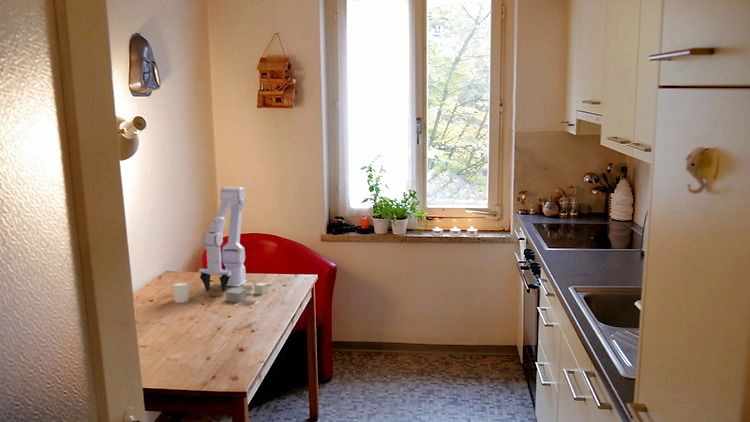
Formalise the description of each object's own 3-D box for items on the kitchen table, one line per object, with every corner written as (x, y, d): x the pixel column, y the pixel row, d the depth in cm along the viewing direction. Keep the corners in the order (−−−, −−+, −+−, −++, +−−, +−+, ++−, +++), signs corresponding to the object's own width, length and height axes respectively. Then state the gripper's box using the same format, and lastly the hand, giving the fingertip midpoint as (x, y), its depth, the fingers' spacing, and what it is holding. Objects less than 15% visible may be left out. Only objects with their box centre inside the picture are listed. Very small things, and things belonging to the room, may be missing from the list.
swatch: (243, 300, 278) (243, 298, 277) (259, 301, 275) (259, 300, 275) (235, 305, 271) (235, 304, 271) (251, 307, 269) (251, 305, 269)
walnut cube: (214, 293, 289) (214, 284, 288) (222, 293, 287) (222, 284, 287) (209, 295, 285) (209, 286, 284) (218, 296, 284) (217, 287, 283)
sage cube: (260, 291, 290) (260, 282, 289) (268, 292, 288) (267, 283, 288) (255, 293, 287) (254, 284, 286) (262, 294, 285) (262, 285, 284)
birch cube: (244, 291, 290) (243, 282, 290) (253, 291, 290) (253, 282, 289) (242, 294, 286) (241, 285, 286) (251, 294, 286) (251, 285, 286)
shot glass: (179, 304, 274) (178, 287, 273) (169, 301, 278) (168, 285, 277) (193, 299, 279) (192, 283, 278) (183, 297, 283) (182, 281, 282)
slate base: (234, 297, 283) (233, 288, 282) (246, 298, 281) (246, 289, 280) (226, 301, 277) (226, 292, 276) (239, 302, 275) (238, 293, 274)
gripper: (194, 261, 282) (196, 292, 284) (224, 263, 277) (226, 295, 280) (202, 257, 288) (204, 287, 291) (232, 259, 284) (234, 290, 287)
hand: (216, 291), depth 286 cm, fingers open, 7 cm apart
